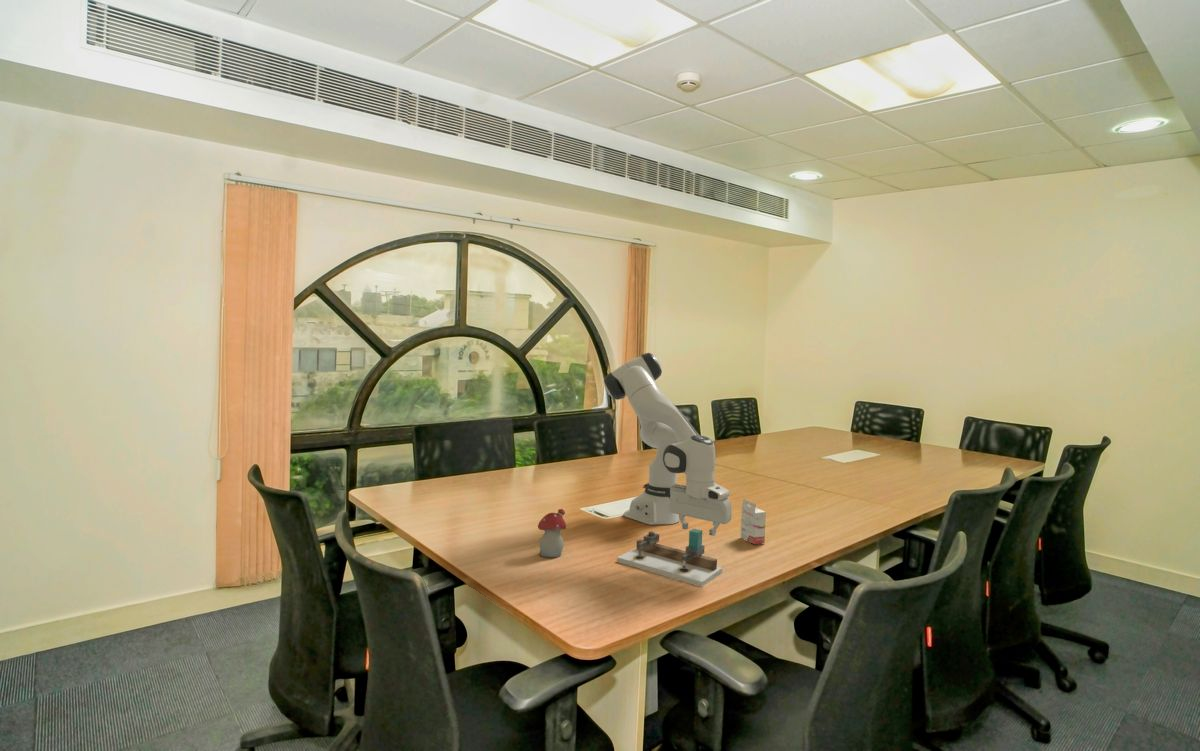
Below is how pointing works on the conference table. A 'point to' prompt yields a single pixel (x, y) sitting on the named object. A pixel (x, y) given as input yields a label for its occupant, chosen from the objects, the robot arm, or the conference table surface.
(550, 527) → the decorative ornament
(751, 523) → the ink cartridge box
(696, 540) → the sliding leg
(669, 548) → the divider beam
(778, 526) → the conference table surface
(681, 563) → the bolt plate
